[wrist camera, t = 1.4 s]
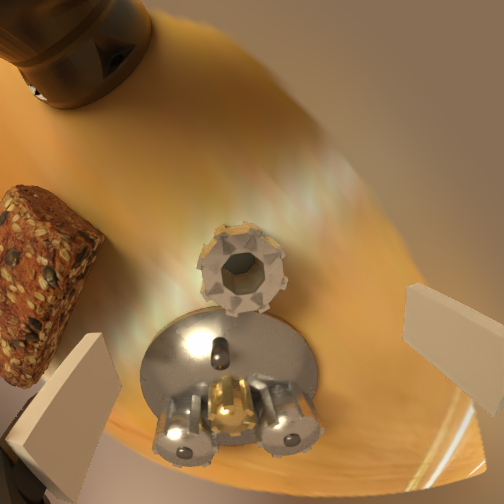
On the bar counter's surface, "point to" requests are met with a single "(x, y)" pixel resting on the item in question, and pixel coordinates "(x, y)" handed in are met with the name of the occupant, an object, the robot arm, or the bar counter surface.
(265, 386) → the carrier
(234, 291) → the planet gear
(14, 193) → the bread
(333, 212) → the bar counter surface
